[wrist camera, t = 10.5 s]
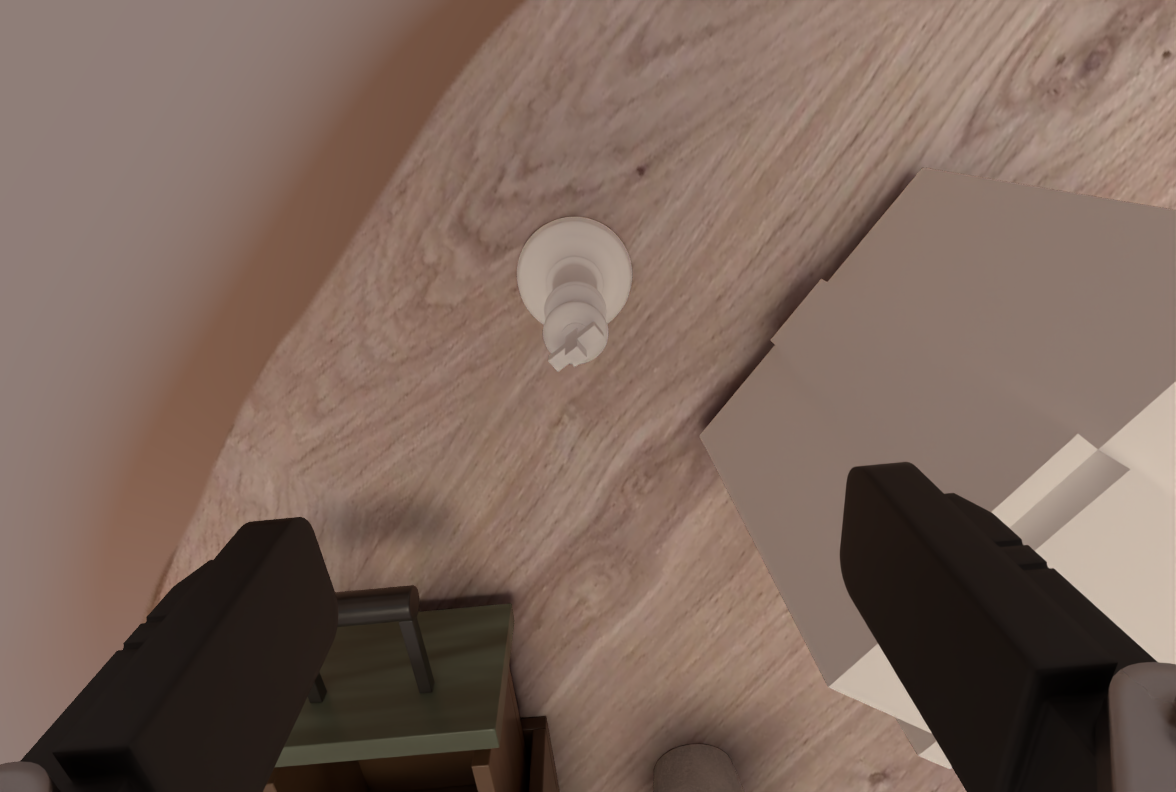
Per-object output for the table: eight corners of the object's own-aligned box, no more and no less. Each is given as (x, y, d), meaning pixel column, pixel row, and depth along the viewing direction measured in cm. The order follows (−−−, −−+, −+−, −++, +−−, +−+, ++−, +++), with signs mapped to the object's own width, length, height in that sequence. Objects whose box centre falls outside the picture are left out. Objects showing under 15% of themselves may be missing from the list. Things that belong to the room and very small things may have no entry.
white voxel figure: (964, 678, 39) (615, 502, 30) (1333, 383, 31) (1006, 20, 22) (1191, 978, 25) (686, 821, 17) (1943, 598, 17) (1750, -105, 8)
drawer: (257, 535, 29) (165, 654, 23) (494, 513, 29) (471, 626, 22) (355, 785, 37) (308, 928, 30) (543, 769, 37) (537, 909, 30)
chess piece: (654, 284, 26) (700, 368, 16) (566, 352, 27) (563, 466, 18) (583, 190, 24) (589, 226, 15) (492, 267, 25) (447, 344, 16)
